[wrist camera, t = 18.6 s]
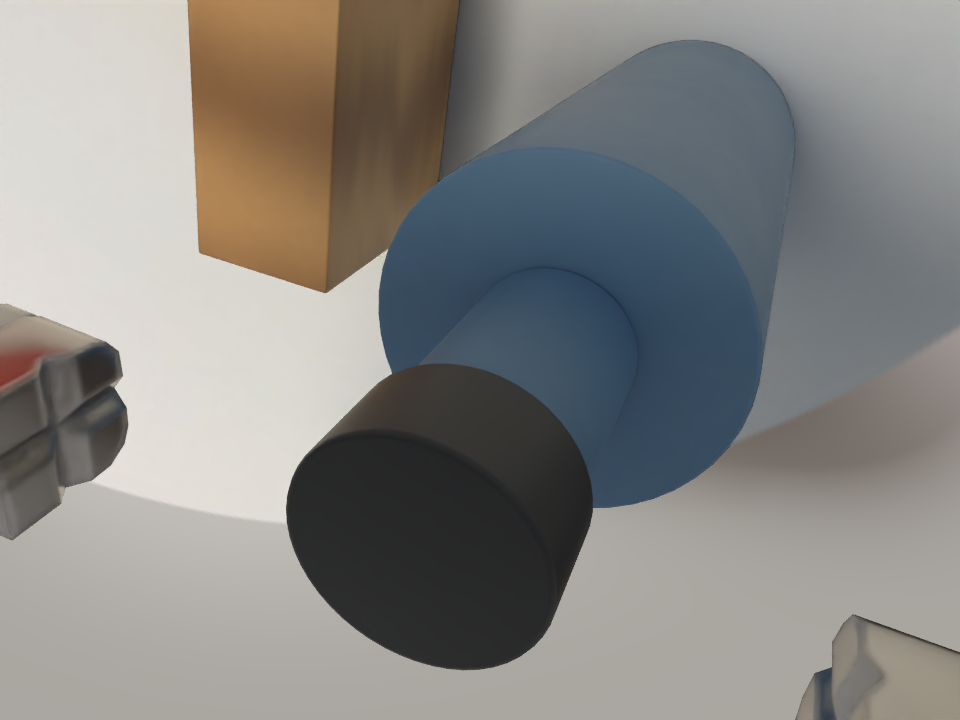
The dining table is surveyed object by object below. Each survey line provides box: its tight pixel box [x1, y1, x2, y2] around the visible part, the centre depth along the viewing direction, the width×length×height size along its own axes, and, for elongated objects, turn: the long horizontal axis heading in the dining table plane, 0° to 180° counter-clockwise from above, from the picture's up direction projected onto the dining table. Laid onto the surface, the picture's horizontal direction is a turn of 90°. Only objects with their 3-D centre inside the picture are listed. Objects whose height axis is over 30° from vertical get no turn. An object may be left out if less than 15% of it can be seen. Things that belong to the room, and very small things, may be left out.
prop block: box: [188, 0, 460, 293], centre depth 22 cm, size 8×4×7 cm, turn 171°
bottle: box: [286, 40, 795, 670], centre depth 16 cm, size 6×13×18 cm, turn 81°
